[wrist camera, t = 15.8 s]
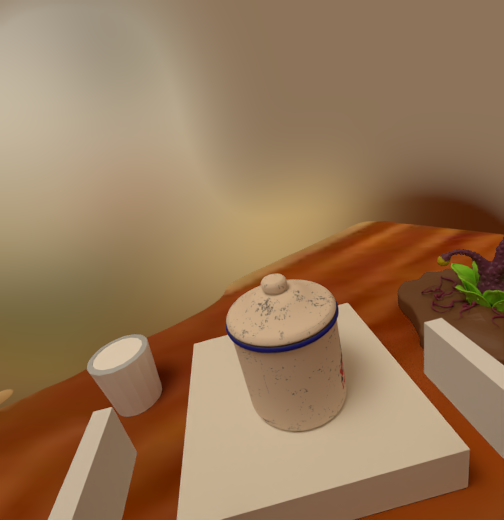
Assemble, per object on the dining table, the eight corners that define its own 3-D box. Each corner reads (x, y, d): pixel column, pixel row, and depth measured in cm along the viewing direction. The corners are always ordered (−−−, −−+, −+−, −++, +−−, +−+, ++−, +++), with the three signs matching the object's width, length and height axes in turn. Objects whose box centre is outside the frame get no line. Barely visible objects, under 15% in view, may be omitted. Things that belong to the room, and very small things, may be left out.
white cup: (144, 370, 42) (125, 329, 40) (178, 384, 38) (159, 338, 36) (100, 410, 37) (74, 365, 35) (133, 430, 33) (108, 381, 31)
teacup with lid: (373, 402, 25) (360, 276, 21) (275, 458, 23) (237, 330, 18) (300, 330, 36) (281, 238, 32) (228, 364, 33) (196, 268, 29)
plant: (704, 377, 25) (756, 253, 21) (442, 391, 30) (442, 291, 25) (535, 269, 43) (546, 191, 39) (388, 288, 48) (383, 219, 43)
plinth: (194, 565, 21) (175, 532, 20) (203, 368, 40) (194, 344, 38) (467, 487, 22) (469, 449, 20) (351, 328, 40) (347, 302, 39)
